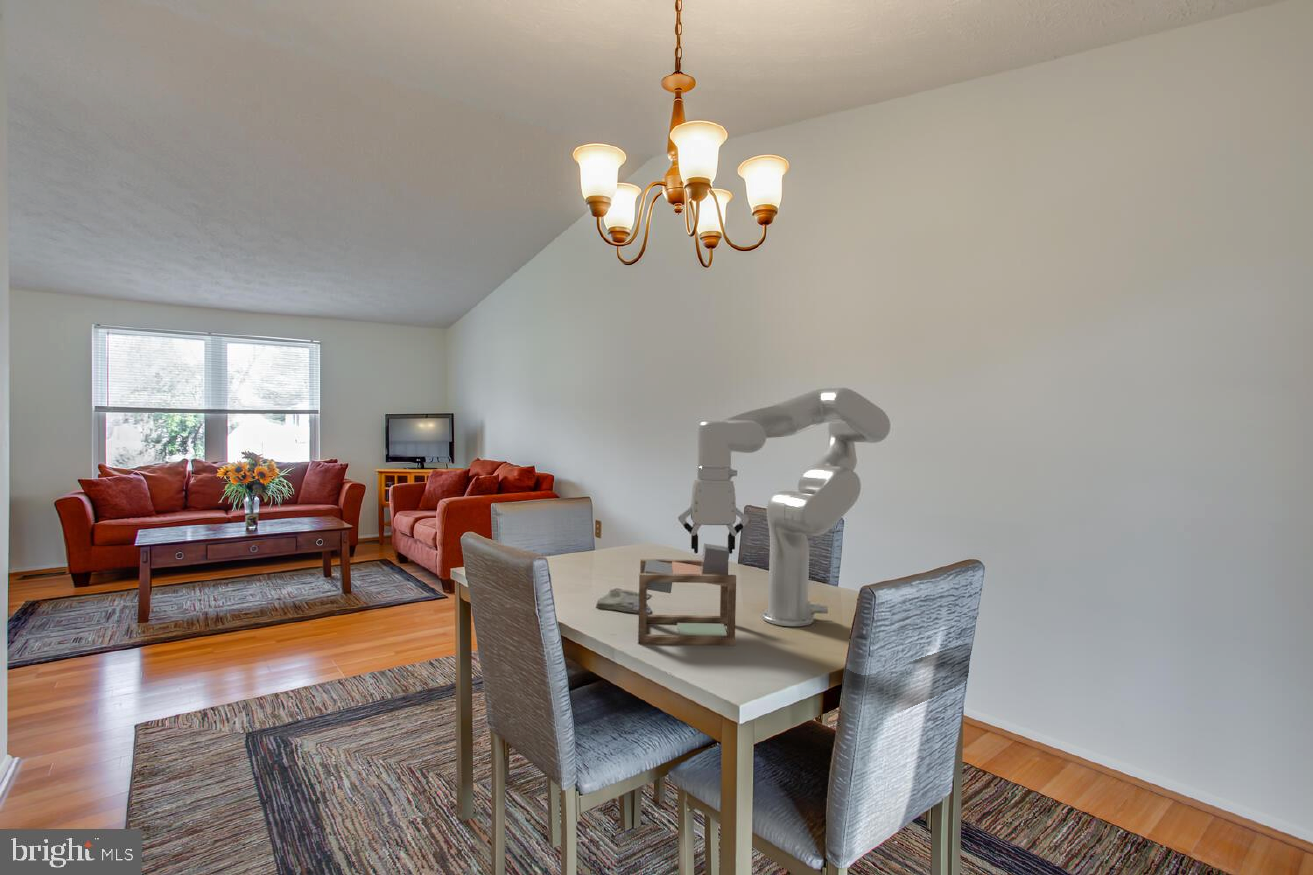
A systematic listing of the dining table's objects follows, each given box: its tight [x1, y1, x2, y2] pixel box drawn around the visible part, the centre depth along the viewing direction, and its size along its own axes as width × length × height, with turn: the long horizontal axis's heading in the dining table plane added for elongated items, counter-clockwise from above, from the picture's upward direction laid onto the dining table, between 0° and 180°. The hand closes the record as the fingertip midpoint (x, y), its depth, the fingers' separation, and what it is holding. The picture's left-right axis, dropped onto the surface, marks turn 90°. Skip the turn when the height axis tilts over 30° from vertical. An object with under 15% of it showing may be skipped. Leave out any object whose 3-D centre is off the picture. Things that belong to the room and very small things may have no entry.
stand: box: [637, 558, 737, 646], centre depth 148 cm, size 21×16×15 cm
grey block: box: [700, 543, 730, 575], centre depth 148 cm, size 5×5×6 cm
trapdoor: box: [644, 558, 728, 594], centre depth 148 cm, size 18×12×4 cm, turn 91°
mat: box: [676, 623, 727, 636], centre depth 149 cm, size 11×11×1 cm
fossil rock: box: [595, 587, 653, 615], centre depth 171 cm, size 18×15×2 cm
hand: (712, 551), depth 148 cm, fingers open, 7 cm apart
